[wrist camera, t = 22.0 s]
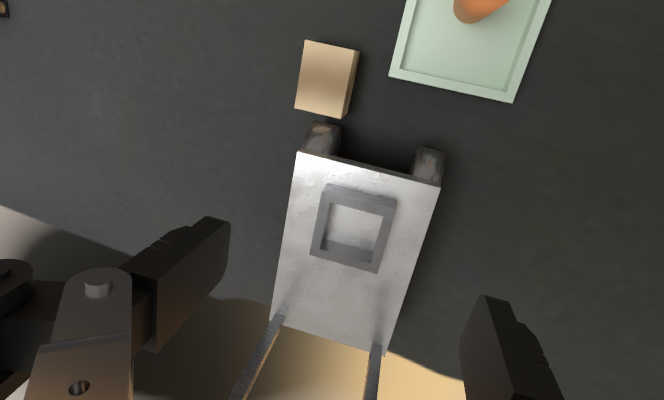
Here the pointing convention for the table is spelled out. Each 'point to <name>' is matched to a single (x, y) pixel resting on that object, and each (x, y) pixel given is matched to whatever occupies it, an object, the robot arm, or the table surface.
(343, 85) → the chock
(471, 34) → the tray
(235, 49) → the table surface
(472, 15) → the pin
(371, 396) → the trolley
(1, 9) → the ammunition clip
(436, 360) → the table surface
